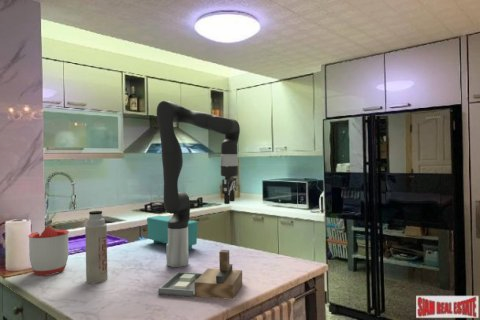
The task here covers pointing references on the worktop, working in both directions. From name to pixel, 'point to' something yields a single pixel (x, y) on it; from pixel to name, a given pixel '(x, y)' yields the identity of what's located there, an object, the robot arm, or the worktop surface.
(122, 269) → the worktop surface
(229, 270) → the scraper
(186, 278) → the tile
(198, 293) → the board
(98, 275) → the thermos bottle
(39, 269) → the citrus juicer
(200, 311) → the worktop surface
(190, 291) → the bin
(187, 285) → the tile
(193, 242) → the radio
